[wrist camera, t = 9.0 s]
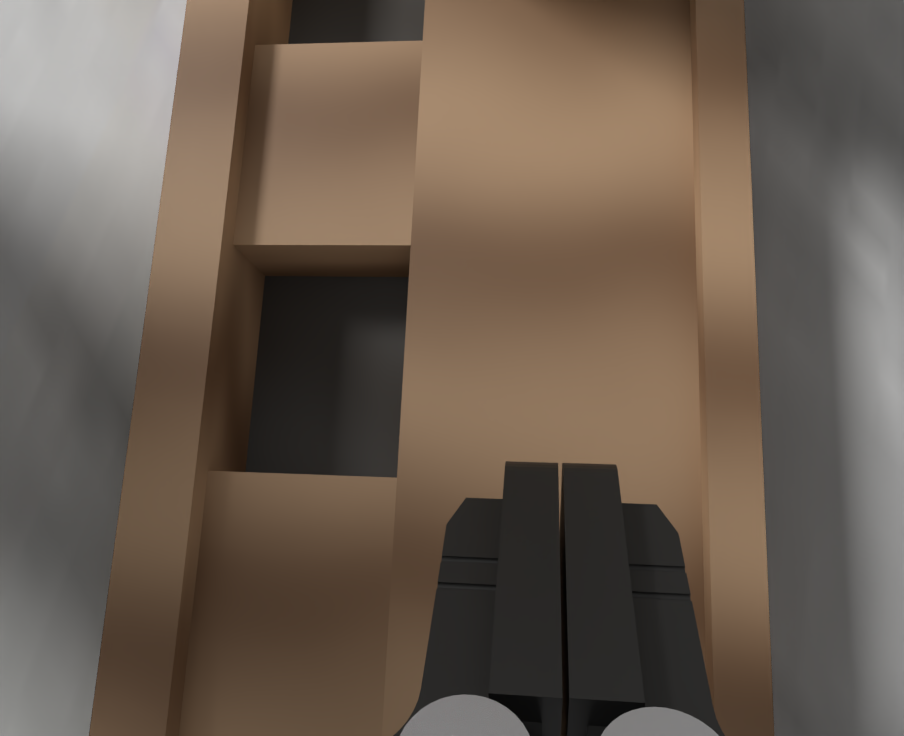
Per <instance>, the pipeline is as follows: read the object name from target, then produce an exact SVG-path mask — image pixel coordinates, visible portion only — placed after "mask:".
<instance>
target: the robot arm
mask: <svg viewBox="0 0 904 736" xmlns="http://www.w3.org/2000/svg"><path fill="white" fill-rule="evenodd" d="M690 596H691V593H690V588H689V583H688V578H687V573H685V563H684V558H683V553H682V548H681V543H680V538H679V533H678V532H677V531H676V529H675V528H674V527H673V525H672V524H671V523H670V521H669V520H668V519H667V517H666V516H665V515H664V513H663V512H662V511H661V509H660V508H659V507H658V505H657V504H634V503H622V502H621V494H620V485H619V477H618V469H617V466H616V464H588V463H562V479H561V504H560V529H559V477H558V463H548V462H516V461H506V462H505V472H504V486H503V499H490V498H465V500H464V501H463V502H462V504H461V505H460V506H459V508H458V509H457V511H456V512H455V513H454V515H453V516H452V517H451V519H450V520H449V521H448V523H447V524H446V531H445V537H444V544H443V550H442V560H441V563H440V569H439V576H438V586H437V589H436V595H435V601H434V608H433V614H432V620H431V627H430V633H429V640H428V646H427V652H426V659H425V665H424V672H423V678H422V685H421V690H420V694H419V698H418V701H417V703H416V706H415V708H414V710H413V712H412V714H411V715H410V717H409V719H408V720H407V721H406V723H405V724H404V725H403V726H402V727H401V729H400V730H399V731H398V732H397V733H396V734H394V735H393V736H725V735H724V733H723V732H722V730H721V728H720V725H719V723H718V721H717V719H716V715H715V712H714V708H713V704H712V699H711V694H710V689H709V684H708V679H707V674H706V669H705V664H704V659H703V654H702V648H701V643H700V638H699V633H698V628H697V623H696V618H695V613H694V608H693V603H692V601H691V598H690Z"/></svg>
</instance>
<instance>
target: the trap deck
mask: <svg viewBox="0 0 904 736" xmlns="http://www.w3.org/2000/svg"><path fill="white" fill-rule="evenodd" d="M506 461H516V462H548V463H558V477H559V529H560V504H561V479H562V463H588V464H616V466H617V469H618V477H619V485H620V494H621V502H622V503H634V504H657V505H658V507H659V508H660V509H661V511H662V512H663V513H664V515H665V516H666V517H667V519H668V520H669V521H670V523H671V524H672V525H673V527H674V528H675V529H676V531H677V532H678V533H679V538H680V543H681V548H682V553H683V558H684V563H685V573H687V578H688V583H689V588H690V593H691V596H690V598H691V601H692V603H693V608H694V613H695V618H696V623H697V628H698V633H699V638H700V643H701V648H702V654H703V659H704V664H705V669H706V674H707V679H708V684H709V689H710V694H711V699H712V704H713V708H714V712H715V715H716V719H717V721H718V723H719V725H720V728H721V730H722V732H723V733H724V735H725V736H774V717H773V693H772V669H771V644H770V620H769V596H768V572H767V548H766V523H765V499H764V475H763V451H762V426H761V402H760V378H759V354H758V329H757V305H756V281H755V257H754V232H753V208H752V184H751V160H750V135H749V111H748V87H747V63H746V38H745V14H744V0H187V5H186V12H185V20H184V27H183V35H182V42H181V50H180V57H179V65H178V72H177V80H176V87H175V95H174V102H173V110H172V117H171V125H170V132H169V140H168V147H167V155H166V162H165V170H164V177H163V184H162V192H161V199H160V207H159V214H158V222H157V229H156V237H155V244H154V252H153V259H152V267H151V274H150V282H149V289H148V297H147V304H146V312H145V319H144V327H143V334H142V342H141V349H140V357H139V364H138V372H137V379H136V387H135V394H134V402H133V409H132V417H131V424H130V432H129V439H128V447H127V454H126V462H125V469H124V477H123V484H122V492H121V499H120V507H119V514H118V522H117V529H116V537H115V544H114V552H113V559H112V567H111V574H110V582H109V589H108V597H107V604H106V612H105V619H104V627H103V634H102V642H101V649H100V657H99V664H98V672H97V679H96V687H95V694H94V702H93V709H92V717H91V724H90V732H89V736H393V735H394V734H396V733H397V732H398V731H399V730H400V729H401V727H402V726H403V725H404V724H405V723H406V721H407V720H408V719H409V717H410V715H411V714H412V712H413V710H414V708H415V706H416V703H417V701H418V698H419V694H420V690H421V685H422V678H423V672H424V665H425V659H426V652H427V646H428V640H429V633H430V627H431V620H432V614H433V608H434V601H435V595H436V589H437V586H438V576H439V569H440V563H441V560H442V550H443V544H444V537H445V531H446V524H447V523H448V521H449V520H450V519H451V517H452V516H453V515H454V513H455V512H456V511H457V509H458V508H459V506H460V505H461V504H462V502H463V501H464V500H465V498H490V499H503V486H504V472H505V462H506Z"/></svg>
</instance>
